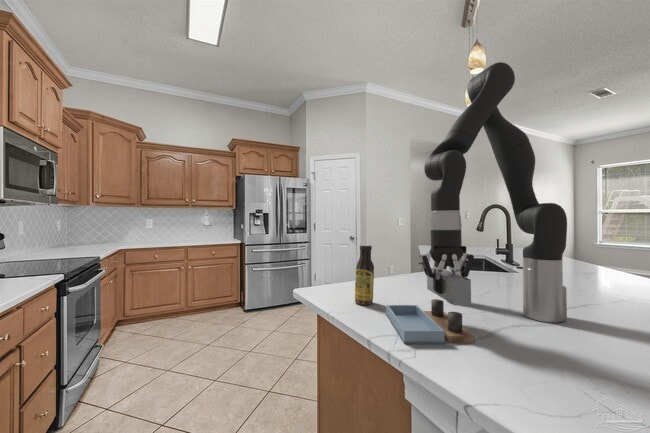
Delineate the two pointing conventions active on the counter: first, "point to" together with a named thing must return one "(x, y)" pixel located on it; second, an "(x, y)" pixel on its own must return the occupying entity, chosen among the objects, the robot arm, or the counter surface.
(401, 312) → the slot tray
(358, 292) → the sauce bottle
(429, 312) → the peg rack
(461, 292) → the steel bar
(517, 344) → the counter surface
